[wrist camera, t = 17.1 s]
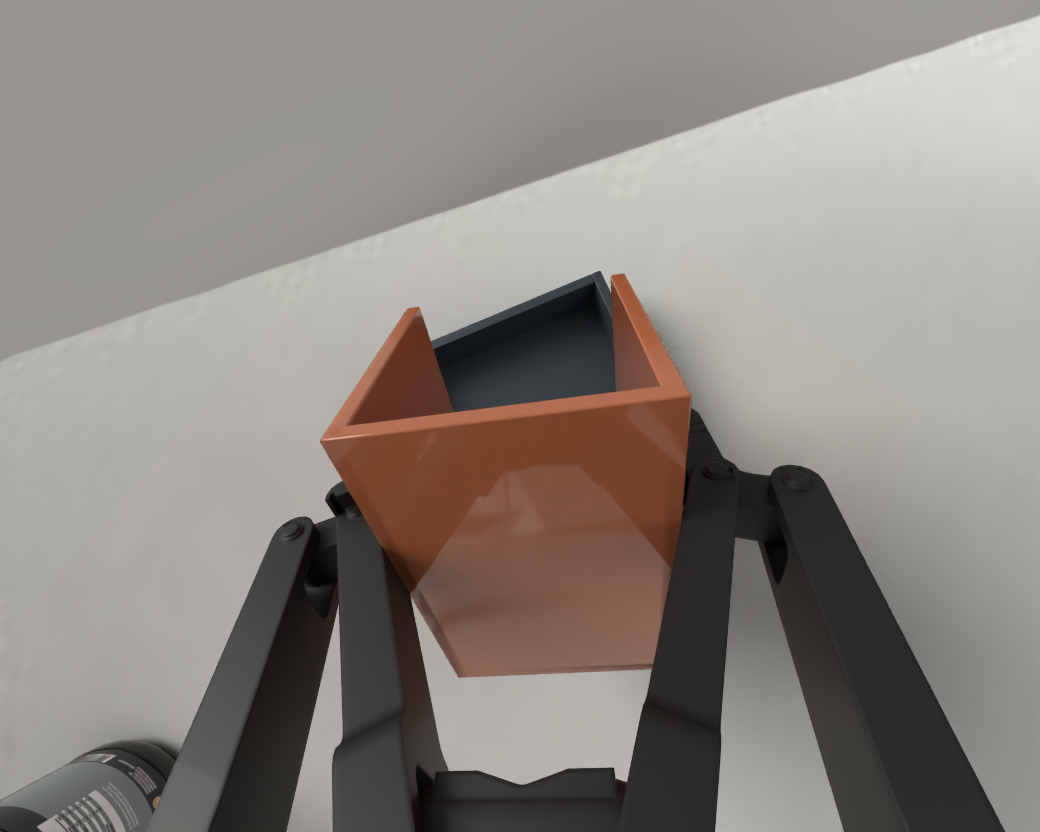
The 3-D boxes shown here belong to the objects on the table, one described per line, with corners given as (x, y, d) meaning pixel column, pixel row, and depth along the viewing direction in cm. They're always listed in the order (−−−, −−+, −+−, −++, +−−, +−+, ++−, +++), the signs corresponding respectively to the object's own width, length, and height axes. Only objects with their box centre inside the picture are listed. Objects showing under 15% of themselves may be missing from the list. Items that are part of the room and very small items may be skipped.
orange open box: (670, 669, 15) (692, 394, 8) (458, 678, 16) (317, 440, 9) (619, 456, 24) (609, 245, 18) (486, 470, 25) (428, 276, 19)
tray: (596, 297, 29) (600, 270, 25) (687, 490, 26) (706, 490, 22) (409, 375, 29) (387, 359, 26) (477, 573, 26) (463, 585, 23)
